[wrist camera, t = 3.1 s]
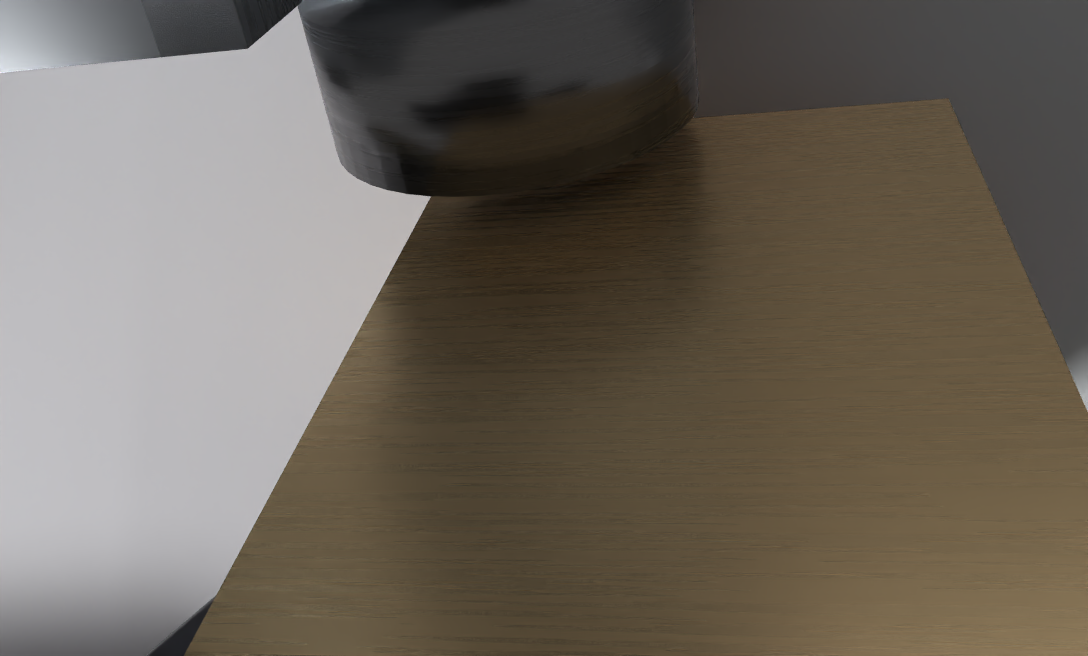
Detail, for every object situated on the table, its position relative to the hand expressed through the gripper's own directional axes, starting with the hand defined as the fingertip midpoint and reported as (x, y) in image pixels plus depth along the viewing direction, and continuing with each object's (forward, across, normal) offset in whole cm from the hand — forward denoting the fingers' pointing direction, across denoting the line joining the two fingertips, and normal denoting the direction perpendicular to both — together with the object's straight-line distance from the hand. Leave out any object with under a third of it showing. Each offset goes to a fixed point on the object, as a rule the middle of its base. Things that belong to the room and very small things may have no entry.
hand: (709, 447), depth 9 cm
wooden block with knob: (+1, 0, 0) cm, 1 cm away
